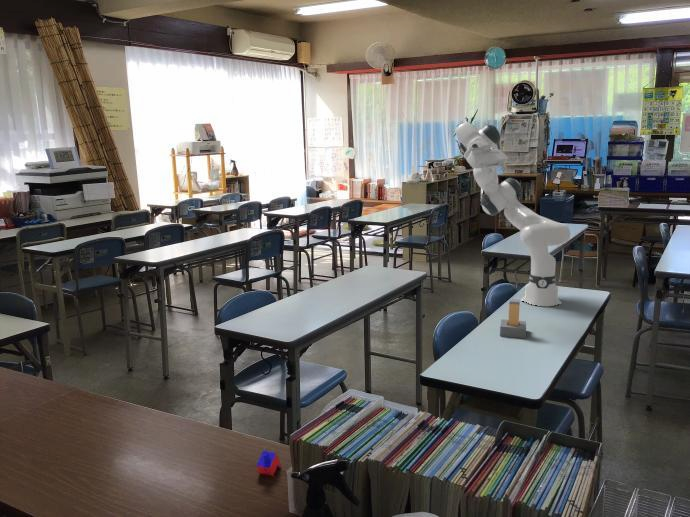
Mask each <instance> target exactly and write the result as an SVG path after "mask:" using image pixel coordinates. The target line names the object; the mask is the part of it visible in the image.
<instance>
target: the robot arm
mask: <svg viewBox="0 0 690 517" xmlns="http://www.w3.org/2000/svg"><path fill="white" fill-rule="evenodd" d="M454 133H455V135H456V137H457V138H458V140H459V150H460V151H461V153H462V154H463V158H464V159H465V160H466V162H467V163H468V164H469V166H470V167H471V168H472V170H473V171H472V173H473V174H472V175H473V177H474V180H475V182H476V183H477V185H478V187H479V188H480V189H482V191H483V192H484V194H481V198H480V206H481V207H482V210H483V212H485V213H486V214H487V215H489V216H492V217H494V216H496V215H498V214H499V213H500V212H502V211H503V214H504V216H505V218H506V219H507V221H508V222H509V223H510V224H511V225H512V226H513V227H515V228H517V230H519V231H520V233H519V239H520V241H521V243H522V245H524V246H525V248H526V249H527V250H528V252H529V255H530V273H529V278H528V279H529V281H528V283H527V284H526V285H525V286H524V291H525V292H524V295H523V296H522V297H521V298H520V302H522V301H524V302H523V303H526V302H527V303H526V304H528V303H529V305H531V304H532V306H535V305H537V306H538V307H554V306H558V304H559V305H562V301H561V300H560V299H559V286H557V284H556V281H557V277H556V276H557V275H556V264H557V263H556V262H557V261H556V258H555V257H554V256H553V255H552V254H550V252H549V250H548V249H549V248H548V247H555V246H560V245H562V244H566V243H567V242H568V241H570V238H571V230H570V228H569V226H568V225H567V224H565V223H561V222H559V221H554V220H553V219H550V218H548V217H545V216H541V215H539V214H538V213H536V212H534V211H533V210H532V209H530V208H528V207H527V206H525V205H524V204H523V203H521V202H520V201H519V200H521V199H522V192H523V190H522V189H523V187H522V186H521V183H520V182H519V181H518V180H517V179H515V178H514V177H513V178H512V177H507V178H506V179H504V180H503V181H502V182H501V183H499V176H498V172H497V169H498V167H500V168H501V169H500V171H502V172H503V173H506V172H507V170H508V168H507V166H506V165H507V163H508V160H509V157H508V156H507V155H506V154H505V153H504V152H503V151H502V150H501V146H500V144H501V143H500V142H501V141H500V140H501V134H500V131H499V129H498V128H497V127H496V126H495V125H493V124H485V125H484V126H483V127H481V128H480V129H479V130H478V129H477V128H476V127H475V126H474V125H473V124H472V123H470V122H469V121H464V122H462V123H461V124H459V125H458V126H457V127H456V128H455V130H454Z"/></svg>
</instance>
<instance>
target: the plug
mask: <svg viewBox="0 0 690 517" xmlns="http://www.w3.org/2000/svg"><path fill="white" fill-rule="evenodd" d="M520 303H521V299H518V298H517V299H515V298H509V304H508V307H509V308H508V319H507V320H508V325H511V326H518V324H519V321H520V307H521V306H520V305H521V304H520Z"/></svg>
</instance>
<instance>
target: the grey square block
mask: <svg viewBox="0 0 690 517" xmlns="http://www.w3.org/2000/svg"><path fill="white" fill-rule="evenodd" d="M508 320H509V319H504V318H502V319H501V320H500V326H499V327H500V328H499V336H500V337H508V338H518V337H519V339H526V334H527V321H526V320H519V324H518V326H511V325H508Z"/></svg>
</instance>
